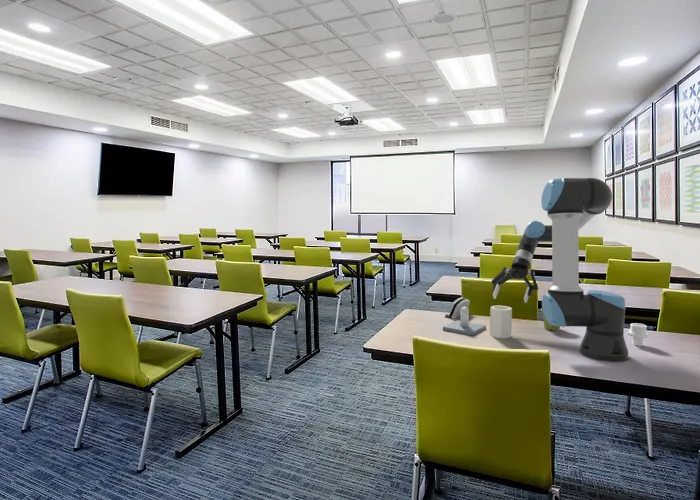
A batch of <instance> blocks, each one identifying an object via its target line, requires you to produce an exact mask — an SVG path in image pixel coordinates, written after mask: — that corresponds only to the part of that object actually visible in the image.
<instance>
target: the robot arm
mask: <svg viewBox="0 0 700 500" xmlns="http://www.w3.org/2000/svg"><path fill="white" fill-rule="evenodd" d="M612 201H613V193H612V190H611V187H610V186H609V185H608V184H607V183H606V182H605V181H603V180H601V179H599V178H597V177H586V178H585V177H577V178H576V177H567V178H566V177H561V178H553V179H552V178H551V179H550V180H549V181H547V182H546V184H545V185H544V188H543V190H542V194H541V203H540V204H541V209H542V210H543V211H545V212H547V217H548V218H549V219H550V220H551V224H550V225H547V224H546V225H544V223H542V222H541V221H538V220H532V221H530V222H529V223H528V224H527V225H526V227H525V229H524V232H523V234H522V236H521V237H520V239H519V244H518V247H517V249H516V252H515V255H514V257H513V260H512V264H511V266H510V268H507V267H506V266H505V267H502V269H501V271H500V272H499V273H498V274H497V275H495V277H493V278H492V280H491V285H493V287H492V291H493V293H492V297H493V299H494V300H495V299H497V298H498V297H497V296H498V294H499V291H500V288H501V287H500V286H502V285H503V284H504V283H505V284H506V282H508V281H509V280H513V279H514V280H515V279H517V280H523V281H524V282H525V283H526V285H527V287H526V290H525V293H524V297H523V300H524V303H525V304H528V303H527V302H528V300H529V297H532V294H533V291H534V290H535V291H538V290H539V287H538V284H537V280H536V277H535V276H536V273H535V270H534V269H531V270H530V267H531V263H532V260H533V257H534V254H535V251H536V249H537V247H538V244H539V243H551V246H552V247H551V249H552V250H551V251H552V252H551V253H552V254H551V256H552V257H551V260H552V263H551V264H552V267H551V270H552V274H551V275H552V278H551V279H552V283H551V285H550V287H548V289H547V293H545V294H543V296H542V300H541V306H542V307H541V308H543V313H544V316H545V318H546V320H547V321H548V323H549V324H551V325H553V326H560V327H562V328H565V327H579V328H580V327H585V328H586V329H585V334H584V336H583V338H582V340H581V342H580V347H579V352H580V354H582V355H583V356H585V357H588V358H591V359H593V360H598V361H604V362H611V363H612V362H613V363H614V362H625V361H628V359H629V349H628V347H627V344H626V341H625V340H626V339H625V337H624V333H625V332H624V331H625V318H626V317H625V316H626V315H625V314H626V309H627V308H626V302H625V301H626V300H625V298H624V296H622V295H620V294H617V293H614V292H610V291H604V290H599V289H598V290H597V289H588V290H587V293H586V294H584V289H583V287H581V285H580V283H579V282H580V280H579V278H580V277H579V276H580V275H579V267H580V266H579V265H580V263H579V262H580V261H579V257H580V256H579V231H580V230H581V229H582V228H583V227H584V226H586V224H587V223H589V222H590V221H591V220H592V219H593V218H594V217H595V216H596V215H600V214H602V213H604V212H605V211H606V210H607V209H608V208H609V207H610V205H611V203H612ZM528 275H529V276H530V277H531V280H532V283H533V284H531V282H530V280H529V279H528V277H527V276H528ZM543 313H542V314H543Z"/></svg>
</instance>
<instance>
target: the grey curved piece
mask: <svg viewBox="0 0 700 500" xmlns="http://www.w3.org/2000/svg"><path fill="white" fill-rule="evenodd" d="M470 303H471V301H470V300H469V299H467V298H464V297H458V298H457V299H455V300H453V302H452V304H450V308H449V310H448V312H447V313H450V314H447V313H445V315H444V318H447V317H450V318H451V319H453V318H454V319H455V318H458V317H460V316H461V308H462V307H467V308H468V309H469V307H470ZM459 315H460V316H459ZM446 316H447V317H446Z"/></svg>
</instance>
